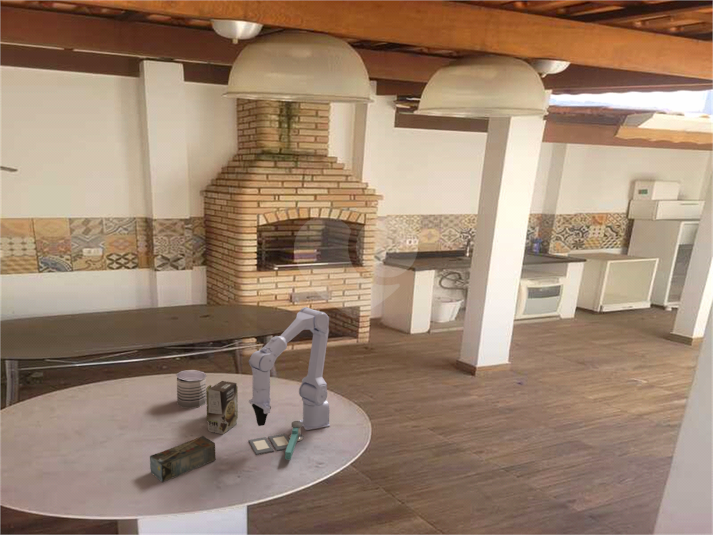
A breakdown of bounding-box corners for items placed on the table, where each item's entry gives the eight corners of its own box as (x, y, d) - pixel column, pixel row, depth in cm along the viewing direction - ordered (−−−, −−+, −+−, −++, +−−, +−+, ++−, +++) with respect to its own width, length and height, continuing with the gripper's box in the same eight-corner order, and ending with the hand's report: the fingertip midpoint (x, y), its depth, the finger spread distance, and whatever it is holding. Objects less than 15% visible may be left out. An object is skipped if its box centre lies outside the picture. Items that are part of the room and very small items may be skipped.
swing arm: (292, 431, 197) (292, 420, 196) (302, 432, 197) (302, 421, 196) (282, 459, 179) (282, 447, 178) (293, 459, 178) (293, 447, 178)
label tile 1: (265, 438, 195) (265, 436, 195) (273, 451, 186) (273, 450, 186) (248, 441, 192) (248, 439, 192) (256, 455, 183) (256, 453, 183)
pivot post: (300, 434, 199) (301, 422, 198) (305, 440, 194) (305, 428, 194) (287, 436, 197) (287, 424, 196) (291, 442, 192) (292, 431, 191)
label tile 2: (284, 434, 198) (284, 433, 198) (293, 447, 189) (293, 446, 189) (268, 437, 195) (268, 436, 195) (276, 451, 186) (276, 449, 186)
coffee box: (223, 435, 196) (223, 391, 193) (208, 431, 198) (207, 388, 195) (237, 424, 204) (237, 382, 202) (222, 420, 207) (222, 379, 204)
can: (184, 395, 228) (184, 367, 226) (211, 398, 226) (210, 370, 224) (171, 407, 217) (171, 378, 215) (199, 409, 215) (199, 380, 213)
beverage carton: (148, 472, 171) (148, 453, 170) (204, 451, 185) (203, 433, 184) (161, 483, 166) (161, 463, 165) (217, 460, 180) (217, 441, 179)
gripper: (244, 380, 190) (244, 417, 193) (255, 396, 177) (255, 436, 180) (264, 377, 193) (264, 414, 195) (276, 393, 180) (276, 432, 183)
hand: (261, 424), depth 188 cm, fingers closed
